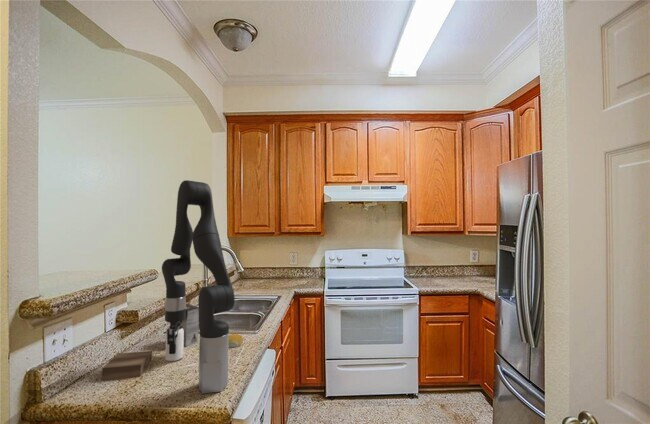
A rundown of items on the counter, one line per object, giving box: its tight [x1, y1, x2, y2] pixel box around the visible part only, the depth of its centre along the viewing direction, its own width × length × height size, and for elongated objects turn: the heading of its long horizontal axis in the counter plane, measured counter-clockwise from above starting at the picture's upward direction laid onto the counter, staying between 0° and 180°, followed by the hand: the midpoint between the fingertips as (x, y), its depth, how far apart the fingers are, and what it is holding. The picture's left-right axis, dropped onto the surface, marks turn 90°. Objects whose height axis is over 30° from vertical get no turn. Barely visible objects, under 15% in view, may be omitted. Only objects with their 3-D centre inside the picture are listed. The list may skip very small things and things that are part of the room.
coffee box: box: [182, 303, 199, 347], centre depth 141 cm, size 9×6×16 cm
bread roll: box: [228, 333, 244, 348], centre depth 139 cm, size 8×9×4 cm
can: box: [164, 326, 185, 362], centre depth 124 cm, size 6×6×12 cm
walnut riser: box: [101, 350, 153, 381], centre depth 114 cm, size 12×12×4 cm
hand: (174, 350), depth 124 cm, fingers closed on can, 6 cm apart
